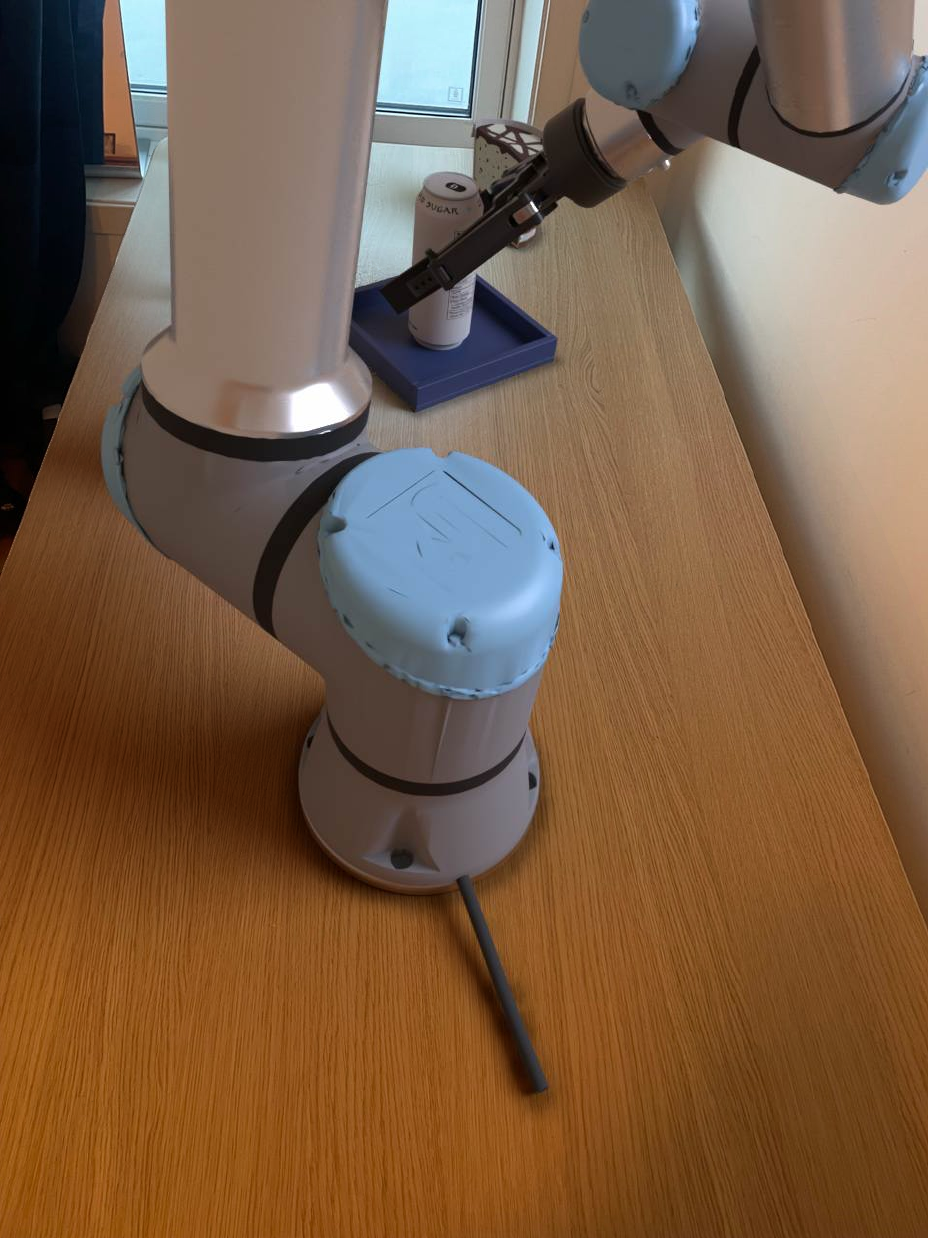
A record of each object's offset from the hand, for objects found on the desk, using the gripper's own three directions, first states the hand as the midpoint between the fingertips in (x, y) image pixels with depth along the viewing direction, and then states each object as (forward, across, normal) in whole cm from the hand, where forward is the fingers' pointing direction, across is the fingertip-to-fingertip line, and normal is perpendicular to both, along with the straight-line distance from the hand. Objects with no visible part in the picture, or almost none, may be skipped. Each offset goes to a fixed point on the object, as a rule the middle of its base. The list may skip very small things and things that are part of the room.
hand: (417, 267), depth 88 cm
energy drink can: (+3, 0, -7) cm, 7 cm away
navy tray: (+3, 0, -7) cm, 8 cm away
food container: (+4, +27, -6) cm, 28 cm away
